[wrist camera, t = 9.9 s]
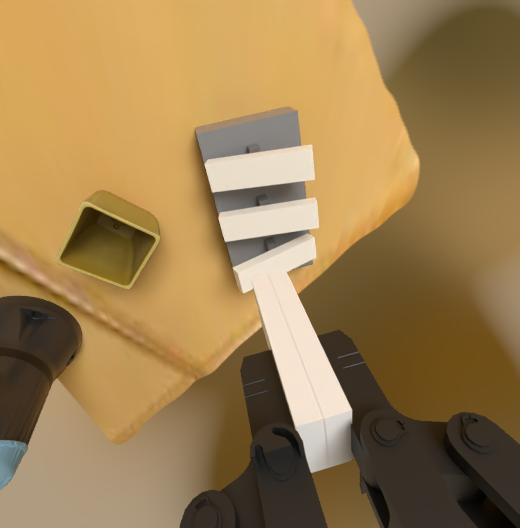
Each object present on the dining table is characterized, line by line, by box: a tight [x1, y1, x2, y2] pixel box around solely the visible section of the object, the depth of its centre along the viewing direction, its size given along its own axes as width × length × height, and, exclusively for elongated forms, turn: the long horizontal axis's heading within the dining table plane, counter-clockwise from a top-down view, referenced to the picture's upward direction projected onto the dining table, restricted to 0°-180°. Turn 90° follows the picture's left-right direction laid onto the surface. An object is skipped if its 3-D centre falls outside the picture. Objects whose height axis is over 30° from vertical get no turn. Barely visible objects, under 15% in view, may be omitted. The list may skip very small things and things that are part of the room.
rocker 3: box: [233, 233, 316, 294], centre depth 44 cm, size 12×3×2 cm, turn 100°
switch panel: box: [195, 107, 313, 270], centre depth 44 cm, size 12×22×6 cm, turn 10°
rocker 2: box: [218, 197, 319, 242], centre depth 40 cm, size 12×3×2 cm, turn 100°
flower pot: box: [56, 190, 160, 289], centre depth 40 cm, size 9×9×9 cm
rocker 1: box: [204, 144, 315, 192], centre depth 36 cm, size 12×3×2 cm, turn 100°
